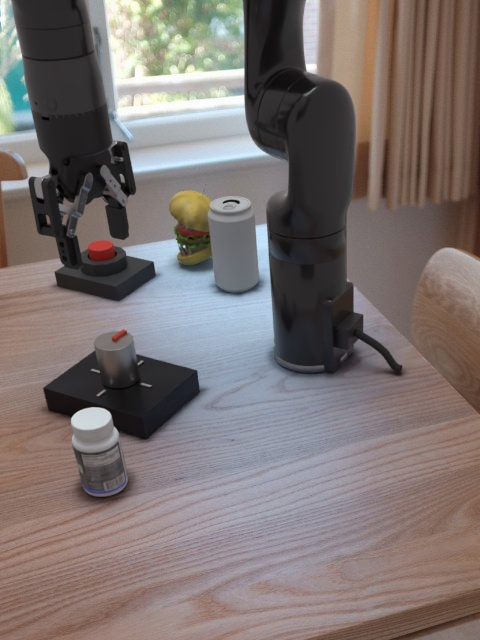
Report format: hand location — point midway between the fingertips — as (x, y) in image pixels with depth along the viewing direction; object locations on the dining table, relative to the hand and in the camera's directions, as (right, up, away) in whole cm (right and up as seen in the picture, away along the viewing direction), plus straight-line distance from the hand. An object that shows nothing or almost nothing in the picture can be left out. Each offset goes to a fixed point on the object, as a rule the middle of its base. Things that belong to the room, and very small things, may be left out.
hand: (97, 252), depth 102 cm
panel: (+2, -16, +6) cm, 17 cm away
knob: (+2, -14, +4) cm, 14 cm away
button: (-7, +7, +28) cm, 30 cm away
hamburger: (+6, +8, +35) cm, 36 cm away
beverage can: (+12, +3, +29) cm, 32 cm away
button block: (-7, +5, +30) cm, 31 cm away
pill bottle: (+3, -27, -7) cm, 27 cm away
